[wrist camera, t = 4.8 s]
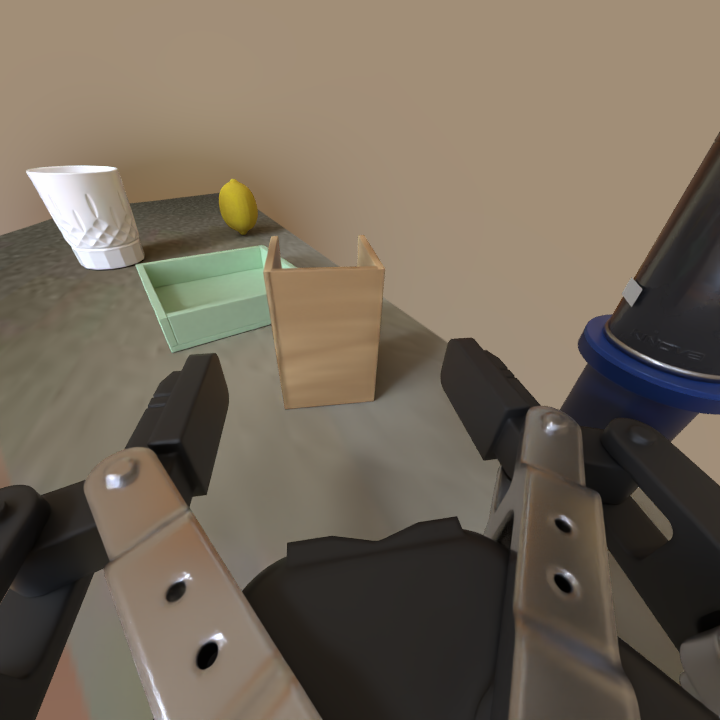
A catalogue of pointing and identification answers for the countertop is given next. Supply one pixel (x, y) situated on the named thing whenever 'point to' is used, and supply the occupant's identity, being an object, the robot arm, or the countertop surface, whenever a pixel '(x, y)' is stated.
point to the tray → (208, 295)
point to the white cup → (91, 213)
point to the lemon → (238, 206)
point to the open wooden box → (325, 328)
